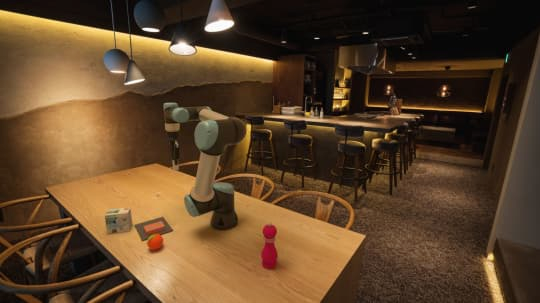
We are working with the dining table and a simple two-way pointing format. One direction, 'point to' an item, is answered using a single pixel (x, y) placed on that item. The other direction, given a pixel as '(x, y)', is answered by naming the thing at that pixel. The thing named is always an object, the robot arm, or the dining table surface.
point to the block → (154, 228)
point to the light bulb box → (118, 220)
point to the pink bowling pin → (269, 247)
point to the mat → (140, 226)
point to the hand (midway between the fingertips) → (175, 169)
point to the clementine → (155, 241)
